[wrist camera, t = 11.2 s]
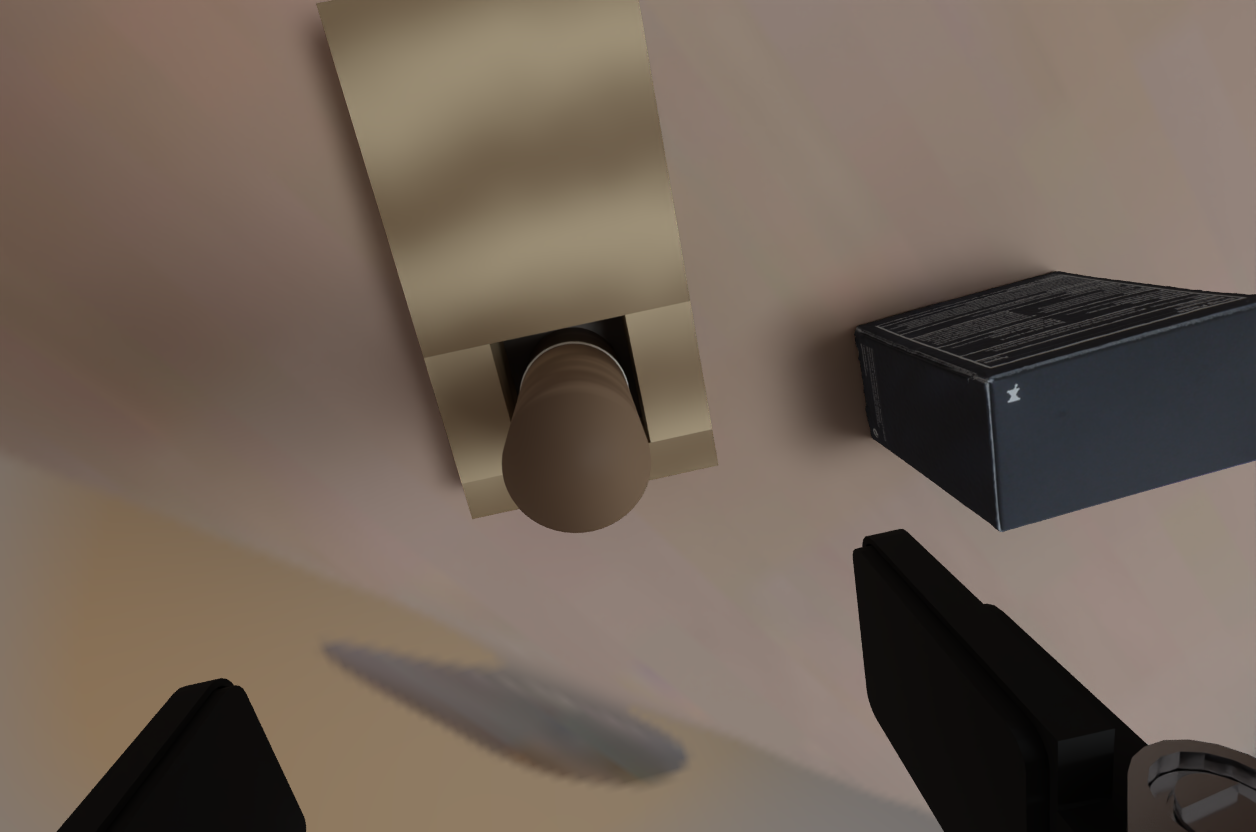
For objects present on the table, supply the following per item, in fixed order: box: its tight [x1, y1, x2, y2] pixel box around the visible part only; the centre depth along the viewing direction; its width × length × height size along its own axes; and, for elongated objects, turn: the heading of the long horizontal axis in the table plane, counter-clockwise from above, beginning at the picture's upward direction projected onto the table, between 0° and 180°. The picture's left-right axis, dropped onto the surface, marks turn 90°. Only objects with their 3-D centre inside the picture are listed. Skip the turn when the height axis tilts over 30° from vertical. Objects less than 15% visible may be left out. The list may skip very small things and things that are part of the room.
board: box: [316, 0, 718, 519], centre depth 27 cm, size 20×11×4 cm, turn 12°
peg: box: [502, 327, 651, 533], centre depth 25 cm, size 4×4×12 cm
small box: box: [854, 271, 1256, 532], centre depth 27 cm, size 11×6×10 cm, turn 105°
